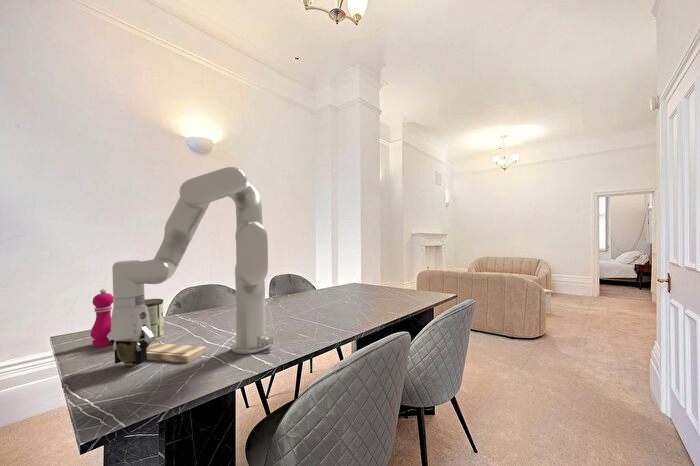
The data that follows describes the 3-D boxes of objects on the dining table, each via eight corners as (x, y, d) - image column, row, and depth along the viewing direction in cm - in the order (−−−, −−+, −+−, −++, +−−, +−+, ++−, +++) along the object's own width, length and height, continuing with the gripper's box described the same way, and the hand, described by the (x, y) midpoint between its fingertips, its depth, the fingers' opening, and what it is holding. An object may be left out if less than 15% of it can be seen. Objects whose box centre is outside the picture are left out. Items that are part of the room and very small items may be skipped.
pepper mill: (85, 346, 107) (85, 290, 107) (108, 339, 114) (108, 286, 114) (98, 348, 104) (97, 291, 105) (120, 341, 111) (120, 287, 111)
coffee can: (129, 338, 114) (128, 301, 115) (160, 332, 122) (159, 297, 122) (134, 345, 107) (133, 305, 107) (167, 338, 114) (166, 300, 115)
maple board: (206, 352, 98) (206, 346, 98) (188, 362, 90) (188, 355, 90) (156, 349, 103) (156, 342, 103) (134, 358, 95) (134, 351, 95)
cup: (111, 373, 84) (111, 344, 85) (119, 363, 91) (119, 336, 91) (143, 368, 87) (142, 340, 88) (148, 359, 94) (148, 333, 94)
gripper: (164, 299, 91) (165, 358, 91) (118, 299, 95) (119, 355, 95) (142, 305, 84) (143, 369, 84) (93, 304, 88) (94, 366, 87)
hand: (130, 361), depth 89 cm, fingers closed on cup, 6 cm apart
